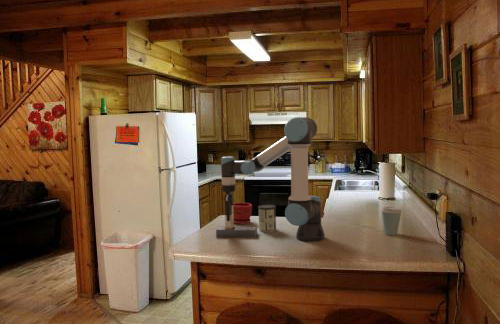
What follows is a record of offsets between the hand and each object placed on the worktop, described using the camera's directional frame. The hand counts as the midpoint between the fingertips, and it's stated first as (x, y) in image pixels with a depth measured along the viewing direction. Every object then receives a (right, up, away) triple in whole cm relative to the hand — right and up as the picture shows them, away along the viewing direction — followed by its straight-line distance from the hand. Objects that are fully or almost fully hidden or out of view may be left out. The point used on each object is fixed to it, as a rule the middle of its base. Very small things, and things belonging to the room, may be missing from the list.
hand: (229, 225), depth 239 cm
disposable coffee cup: (+89, -4, -6) cm, 89 cm away
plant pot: (+6, -3, +31) cm, 32 cm away
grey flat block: (+4, -6, 0) cm, 7 cm away
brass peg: (0, -4, 0) cm, 4 cm away
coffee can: (+22, -4, +11) cm, 25 cm away
